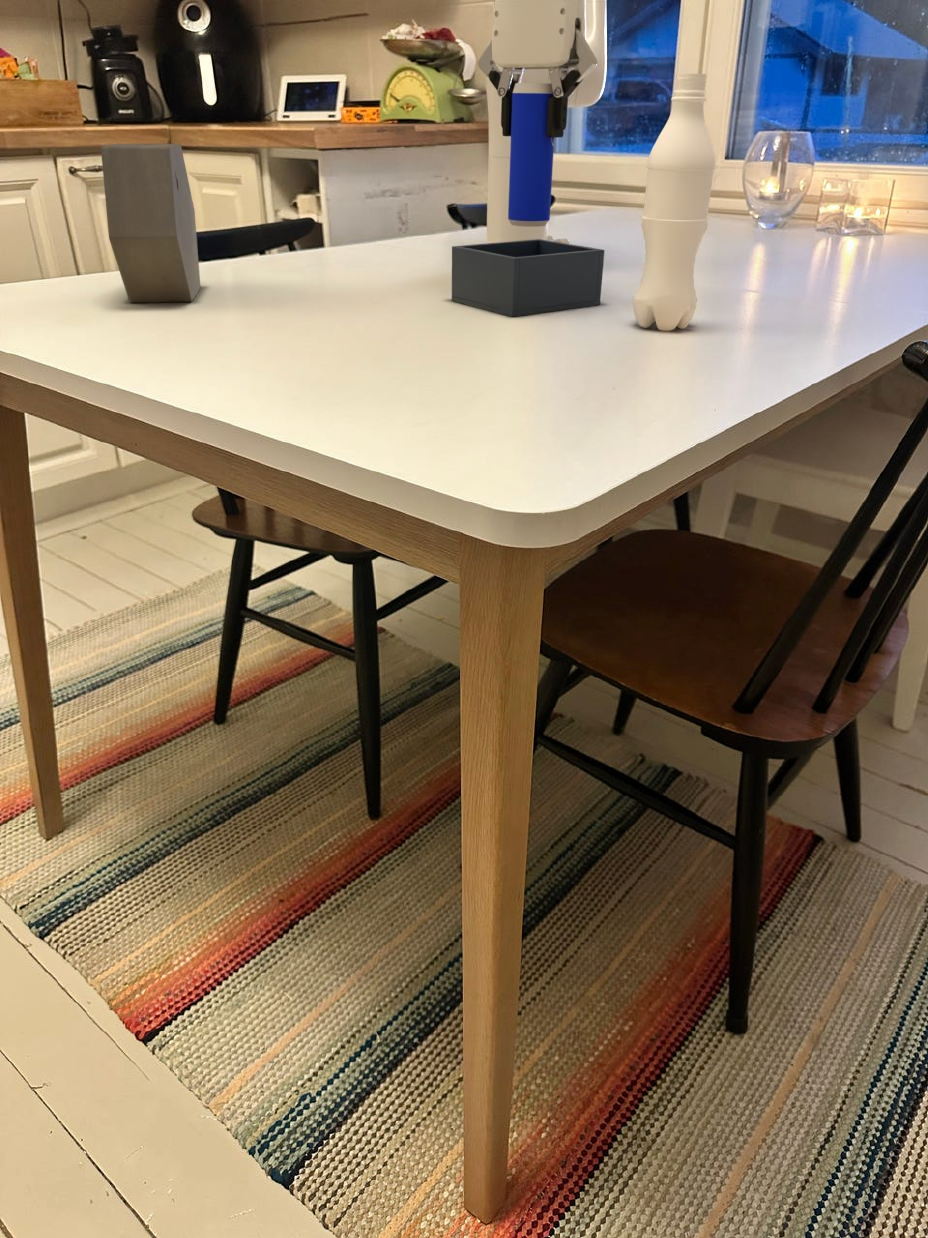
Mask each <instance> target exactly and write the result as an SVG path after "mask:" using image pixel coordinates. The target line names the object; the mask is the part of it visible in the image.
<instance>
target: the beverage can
mask: <svg viewBox="0 0 928 1238" xmlns="http://www.w3.org/2000/svg"><path fill="white" fill-rule="evenodd" d="M552 97H553V91H552V85H551V84H546V83H516V84H515V87H514V90H513V93H512V121H511V149H510V178H509V206H508V220H509V221H510V223H511V225H515V226H526V227H538V226H545V225H546V224H547V223H548V224H549V221H550V218H551V203H552V202H551V201H552V187H553V186H552V185H553V169H554V153H555V152H554V151H555V150H554V149H555V138H549V137H548V136H547V135H546V132H547V112H548V100H549V98H552Z"/></svg>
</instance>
